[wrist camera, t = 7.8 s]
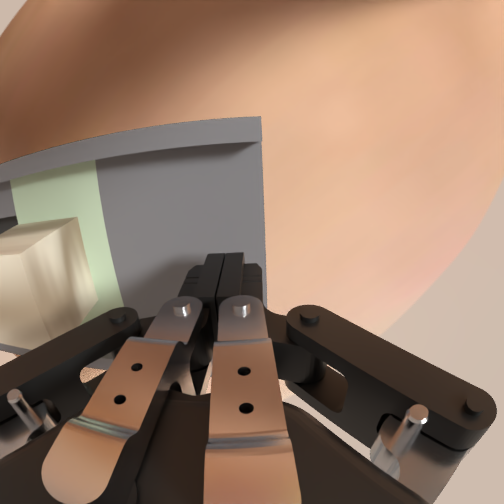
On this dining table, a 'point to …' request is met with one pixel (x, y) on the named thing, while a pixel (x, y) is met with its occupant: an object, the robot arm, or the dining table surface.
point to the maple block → (43, 282)
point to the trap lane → (147, 206)
